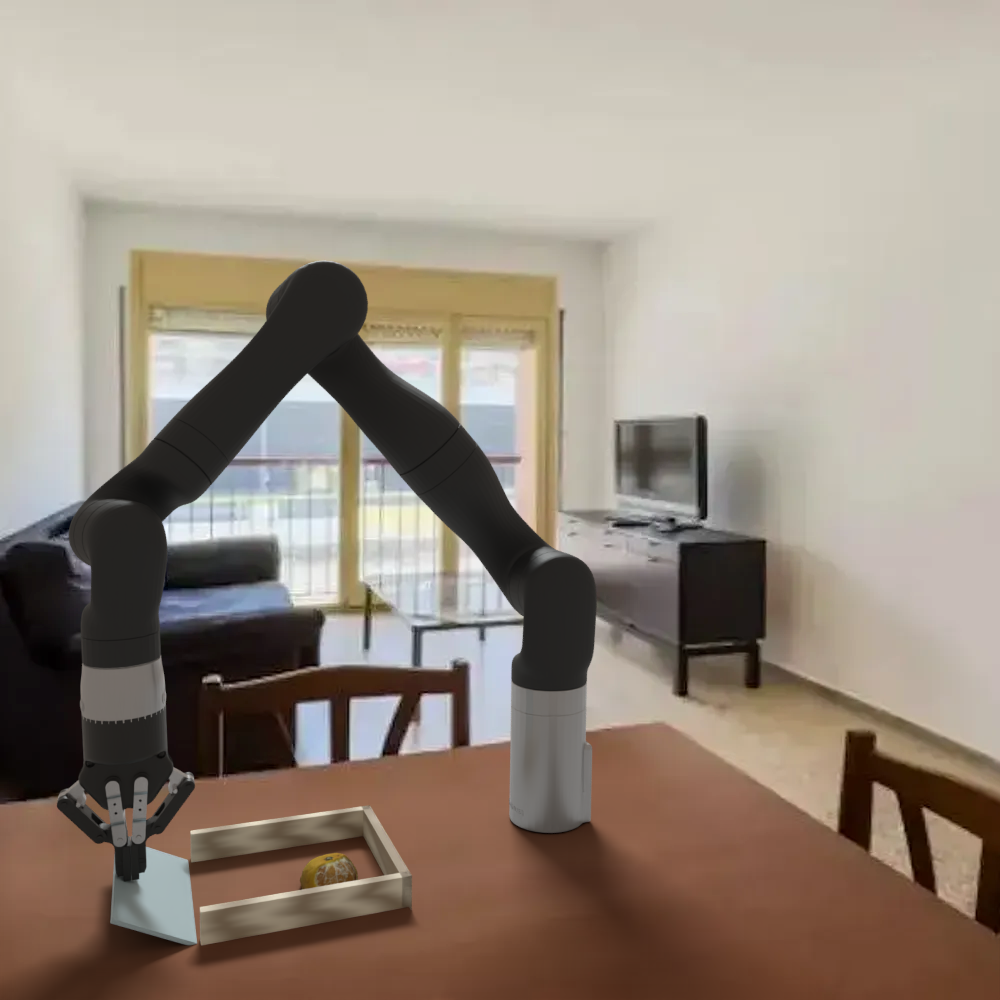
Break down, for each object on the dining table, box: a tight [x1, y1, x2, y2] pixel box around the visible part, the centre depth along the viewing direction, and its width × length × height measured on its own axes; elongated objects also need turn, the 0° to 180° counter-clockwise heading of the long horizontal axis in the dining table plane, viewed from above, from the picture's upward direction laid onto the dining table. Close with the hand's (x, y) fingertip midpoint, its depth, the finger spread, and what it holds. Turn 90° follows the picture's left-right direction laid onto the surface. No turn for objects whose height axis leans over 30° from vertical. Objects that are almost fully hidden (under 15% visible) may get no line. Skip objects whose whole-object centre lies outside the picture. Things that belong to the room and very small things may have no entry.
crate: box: [189, 804, 413, 946], centre depth 96 cm, size 20×18×4 cm
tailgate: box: [110, 846, 198, 946], centre depth 91 cm, size 1×17×8 cm
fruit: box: [299, 852, 359, 890], centre depth 94 cm, size 8×8×4 cm
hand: (131, 876), depth 90 cm, fingers closed
